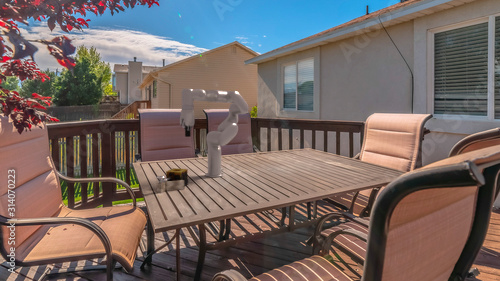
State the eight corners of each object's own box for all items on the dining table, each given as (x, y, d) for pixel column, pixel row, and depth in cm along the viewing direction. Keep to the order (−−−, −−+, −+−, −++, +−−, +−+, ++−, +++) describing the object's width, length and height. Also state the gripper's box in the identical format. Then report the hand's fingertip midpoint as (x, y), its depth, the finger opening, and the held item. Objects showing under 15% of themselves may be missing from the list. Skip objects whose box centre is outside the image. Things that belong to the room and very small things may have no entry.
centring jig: (163, 185, 177) (163, 177, 177) (185, 188, 171) (185, 180, 170) (148, 190, 165) (147, 182, 165) (170, 194, 159) (170, 185, 158)
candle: (181, 189, 171) (180, 172, 169) (165, 187, 173) (165, 171, 172) (188, 184, 180) (188, 168, 179) (173, 183, 183) (173, 167, 181)
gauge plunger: (168, 178, 172) (168, 172, 172) (174, 179, 170) (174, 173, 170) (154, 183, 162) (154, 176, 161) (161, 184, 160) (161, 177, 160)
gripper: (189, 108, 193) (189, 135, 195) (175, 108, 180) (175, 137, 182) (199, 108, 190) (199, 135, 192) (185, 108, 177) (185, 137, 179)
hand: (187, 136), depth 187 cm, fingers closed
